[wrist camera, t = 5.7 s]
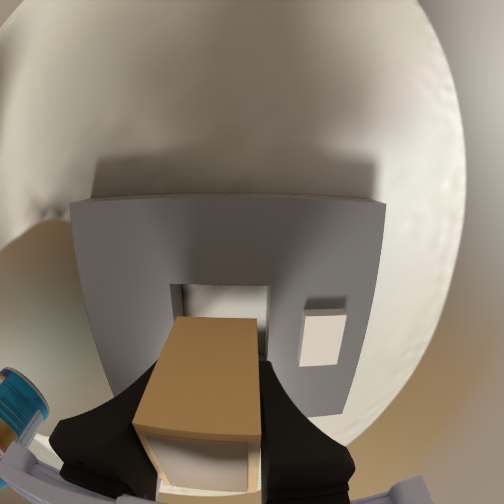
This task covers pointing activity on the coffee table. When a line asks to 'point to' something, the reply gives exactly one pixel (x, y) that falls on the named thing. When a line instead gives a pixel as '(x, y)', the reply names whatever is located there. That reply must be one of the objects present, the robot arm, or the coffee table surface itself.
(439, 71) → the coffee table surface
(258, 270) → the socket plate
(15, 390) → the beverage bottle
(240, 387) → the plug
